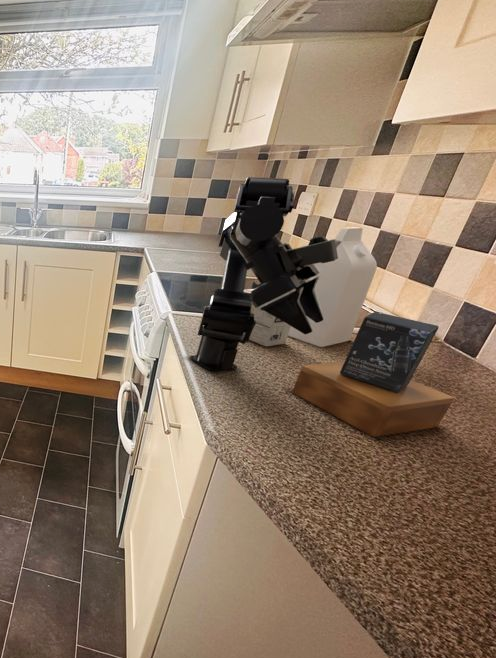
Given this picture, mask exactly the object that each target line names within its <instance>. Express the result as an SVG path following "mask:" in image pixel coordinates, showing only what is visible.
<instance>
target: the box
mask: <svg viewBox="0 0 496 658" xmlns="http://www.w3.org/2000/svg"><path fill="white" fill-rule="evenodd" d="M438 330H439V325H436V324H433V323H427V322H423V321H419V320H416V319H415V320H414V319H410V318H405V317H401V316H397V315H393V314H388V313H383V312H380V311H377V310H376V311H374V312H371V313H370V314H368V315H366V316H365V317H364V318H363V320H362V322H361V324H360V327H359V328H358V331H357V334H356V336H355V338H354V341H352V344H351V346H350V349H349V351H348V354H347V356H346V358H345V360H344V361H345V362H344V361H343V362H344V364H343V366H342V369H341V371H340V374H342V375H345V376H349V377H352V378H355V379H358V380H361V381H364V382H367V383H370V384H373V385H376V386H379V387H382V388H385V389H388V390H390V391H392V392H395V393H399V392H400V391H401V390H402V389H403V388H404V387H406V386H407V385H408V384H409V382H410V380H412V379H413V376H414V374H415V372H416V371H417V369H418V367H419V366H420V364H421V362H422V360H423V358H424V356H425V355H426V352H427V351H428V349H429V346H430V345H431V343H432V342H433V340H434V338H435V337H436V334H437V332H438Z"/></svg>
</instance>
